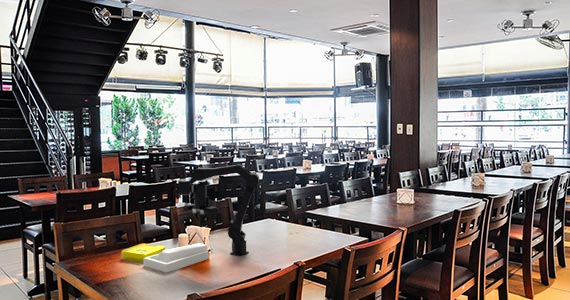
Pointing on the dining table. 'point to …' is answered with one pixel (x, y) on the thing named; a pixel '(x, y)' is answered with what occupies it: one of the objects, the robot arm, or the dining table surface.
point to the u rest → (174, 262)
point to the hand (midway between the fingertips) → (201, 227)
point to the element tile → (141, 252)
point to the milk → (181, 252)
